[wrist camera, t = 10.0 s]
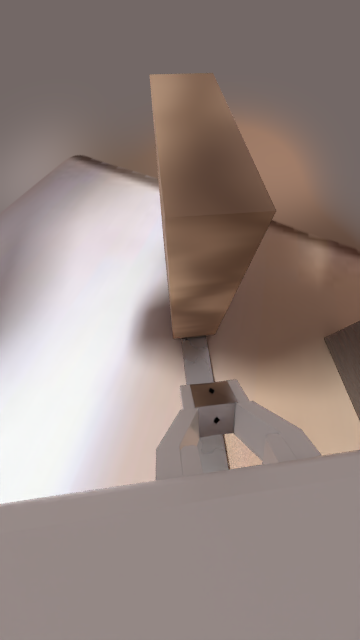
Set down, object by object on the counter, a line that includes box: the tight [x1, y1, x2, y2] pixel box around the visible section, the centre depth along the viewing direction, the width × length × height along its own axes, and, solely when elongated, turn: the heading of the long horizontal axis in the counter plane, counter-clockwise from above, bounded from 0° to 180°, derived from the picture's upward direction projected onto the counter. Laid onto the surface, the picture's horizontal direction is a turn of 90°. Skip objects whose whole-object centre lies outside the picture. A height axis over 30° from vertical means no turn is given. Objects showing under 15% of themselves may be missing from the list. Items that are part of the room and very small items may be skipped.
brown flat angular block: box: [150, 73, 276, 339], centre depth 15 cm, size 4×13×13 cm, turn 6°
